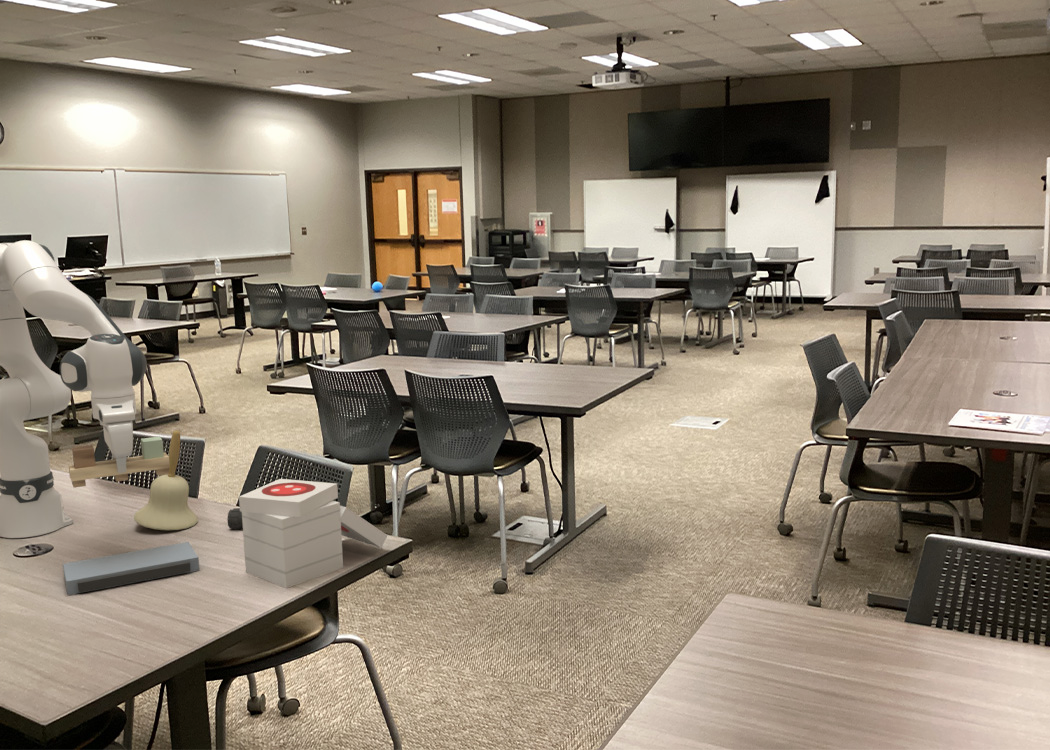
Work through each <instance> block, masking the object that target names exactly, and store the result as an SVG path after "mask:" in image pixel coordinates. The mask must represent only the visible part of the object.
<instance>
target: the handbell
mask: <svg viewBox="0 0 1050 750" xmlns="http://www.w3.org/2000/svg"><path fill="white" fill-rule="evenodd" d="M171 434H172V435H171V439H170V443H169V449H168V456H169V463H170V468H168V470H169V474H165V475H158V476H157V477H156V478H155V479H154V480H153V481H152V482H151V484H150V488H149V499H148V501H147V503H146V504H145V505H144V506H143V507H142V508H140V509H139V510H138V511H137V512H135V513H134V515H133V520H134V521H135V522H136V524H138V525H140V526H142V527H143V528H149V529H152V530H158V531H159V530H160V531H181V530H186V529H188V528H189V529H190V528H192V527H194V526H195V525H197V523H198V522H199V519H198V515H197V514H196V513H195V512H194V511H193V510H192V509H191V508H190V506H189V504H188V499H189V493H190V488H189V486H190V485H189V483H188V481H187V480H186V479H185V478H184V477H182V476H180V475H177V474H176V469H177V466H178V463H179V459H180V458H179V457H180V450H181V432H180V430H173V432H172V433H171Z"/></svg>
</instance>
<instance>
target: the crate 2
mask: <svg viewBox="0 0 1050 750" xmlns="http://www.w3.org/2000/svg"><path fill="white" fill-rule="evenodd" d="M140 445H141V446H140V447H141V456H143V458H144V459H153V458H160V457H164V453H165V452H164V446H163V445H164V443H163V438H161V436H154V437H146V438H145V437H144V438H140Z"/></svg>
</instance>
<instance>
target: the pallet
mask: <svg viewBox="0 0 1050 750" xmlns="http://www.w3.org/2000/svg"><path fill="white" fill-rule="evenodd" d="M163 453H164V457H160V458H153V459H144V458H143V456H142V455H137V456H127V459H126V470H127V471H126V472H125V473H118V471H117V465H116V464H117V463H116V459H113V458H112V459H108V460H101V461H100V460H99V461H95V465H96V466H94V467H86V468H79V469H75V467H74V464H70V465H68V473H69V478H70V481H71V484H72V487H73V489H74V488H81V487H86V486H87V484H86V481H87V480H92V479H98V478H106V477H112V476H113V478H114V480H115V481H116V482H122V481H123V482H124V481H128V480H129V476H128V475H129V474H134V473H140V472H141V473H142V472H148V471H154V473H155V474H156V476H157V477H159V476H162V475H168V474H169V468H170V463H169V454H167V452H163Z"/></svg>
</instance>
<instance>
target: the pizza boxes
mask: <svg viewBox="0 0 1050 750" xmlns="http://www.w3.org/2000/svg"><path fill="white" fill-rule="evenodd" d="M338 488H339V487H338V483H333V482H324V481H323V482H321V481H311V480H309V481H308V480H300V479H299V480H298V479H288V478H279V479H277V480H274V481H272V482H270V483H267V484H266V485H263V486H260V487H258V488H256V489H253V490H251V491H249V492H247V493H244V494H242V495H240V496H238V500H239V501H238V502H239V508H240V511H242V522H243V528H242V534H243V537H242V538H243V550H244V562H245V565H244V566H245V573H247V574H248V575H252V576H255V577H256V578H260V579H261V580H265V581H267V582H270V583H272V584H274V585H277V586H279V587H282V588H284V589H287V588H291V587H294V586H297V585H299V584H302V583H305V582H308V581H310V580H313V579H316V578H318V577H321V576H325V575H327V574H329V573H332V572H335V571H338V570H340V569H343V568H344V561H343V557H344V556H343V541H342V539H343V538H342V536H343V537H345V538H349V539H352V540H355V541H358V542H362V543H365V544H368V545H371V546H374V547H377V548H380V549H381V548H382V547H383V545H384V543H385V542H386V540H387V537H388V534H386V533H385V532H384V531H382V530H380V529H379V528H377V527H376V526H374V525H373V524H372V523H370V522H368V521H367V520H366V519H364V518H363V517H361V516H360V515H358V514H357V513H356V512H353V510H351V509H350V508H348V507H346V506H344V505H341V503H340V501H336V499H338V498H339V491H338Z"/></svg>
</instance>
